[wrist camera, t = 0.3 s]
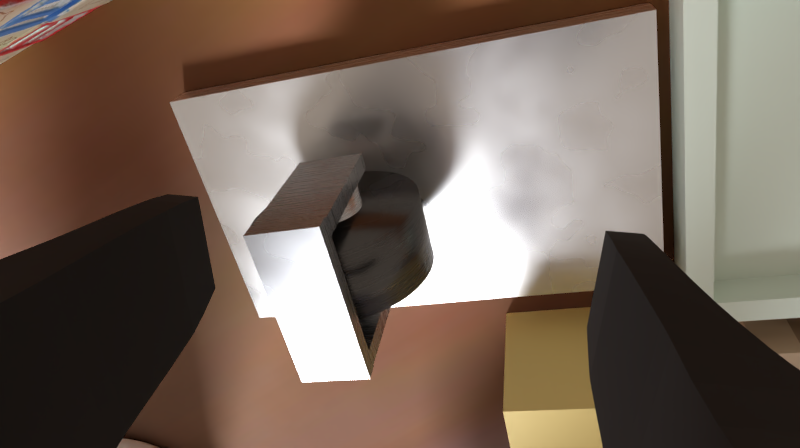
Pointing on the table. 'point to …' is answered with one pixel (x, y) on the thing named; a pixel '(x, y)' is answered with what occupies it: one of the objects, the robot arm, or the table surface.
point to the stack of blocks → (37, 21)
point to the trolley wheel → (432, 176)
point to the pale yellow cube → (549, 380)
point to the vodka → (134, 444)
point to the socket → (779, 336)
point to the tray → (737, 152)
